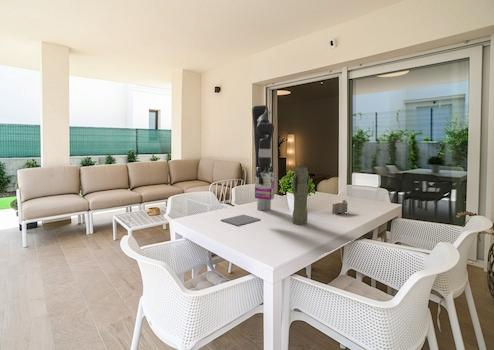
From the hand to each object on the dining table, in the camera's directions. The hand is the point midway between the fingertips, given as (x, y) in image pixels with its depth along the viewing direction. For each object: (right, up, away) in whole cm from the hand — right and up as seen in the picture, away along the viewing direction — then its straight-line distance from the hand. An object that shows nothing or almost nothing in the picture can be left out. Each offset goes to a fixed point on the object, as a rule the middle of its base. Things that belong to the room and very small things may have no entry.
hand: (264, 183), depth 178 cm
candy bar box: (0, -9, +1) cm, 9 cm away
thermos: (+22, -25, +2) cm, 33 cm away
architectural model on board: (+55, -23, +27) cm, 65 cm away
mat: (-15, -24, +7) cm, 29 cm away
